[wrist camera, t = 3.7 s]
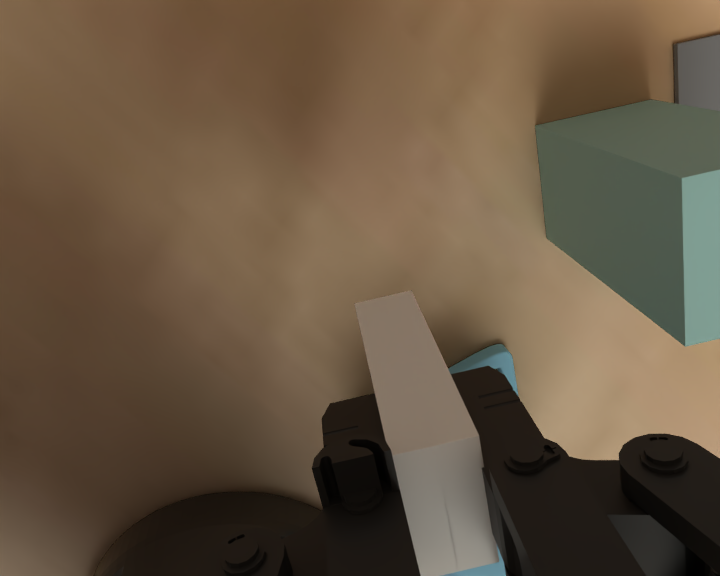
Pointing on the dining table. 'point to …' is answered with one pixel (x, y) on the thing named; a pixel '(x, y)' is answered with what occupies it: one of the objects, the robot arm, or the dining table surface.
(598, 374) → the dining table surface
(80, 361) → the dining table surface
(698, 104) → the slate mat
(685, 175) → the teal block
